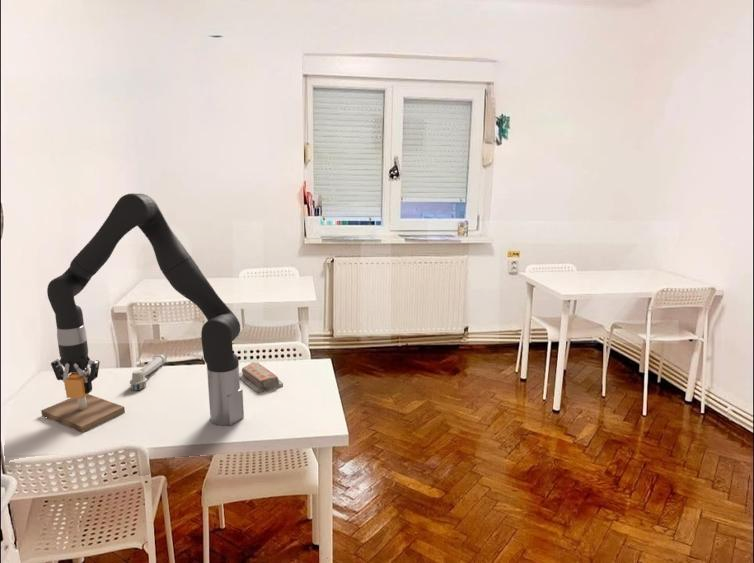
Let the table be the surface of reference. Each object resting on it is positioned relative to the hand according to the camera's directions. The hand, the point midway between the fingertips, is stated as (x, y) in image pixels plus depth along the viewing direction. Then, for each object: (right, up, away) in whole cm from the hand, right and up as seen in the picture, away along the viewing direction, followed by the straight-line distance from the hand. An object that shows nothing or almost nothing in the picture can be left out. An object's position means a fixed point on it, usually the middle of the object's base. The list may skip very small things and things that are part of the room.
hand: (79, 392), depth 162 cm
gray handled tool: (+8, -1, +31) cm, 32 cm away
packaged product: (+49, -2, +28) cm, 57 cm away
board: (0, -8, +3) cm, 8 cm away
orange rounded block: (0, -1, 0) cm, 1 cm away
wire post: (0, -6, +2) cm, 6 cm away
